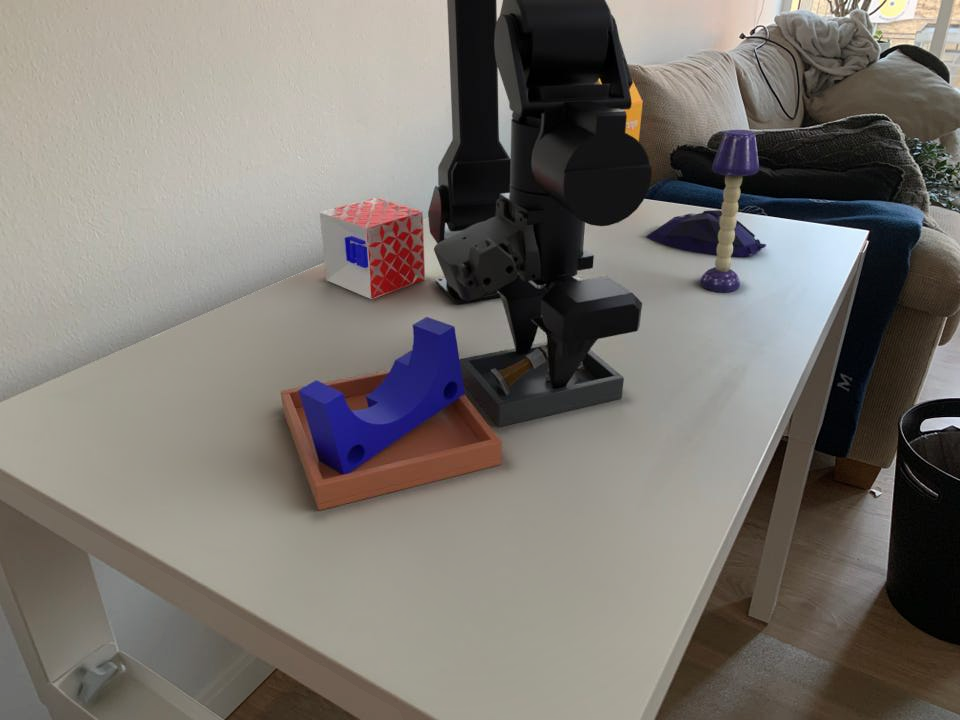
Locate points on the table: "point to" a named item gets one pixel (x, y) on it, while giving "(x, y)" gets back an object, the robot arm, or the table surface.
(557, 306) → the robot arm
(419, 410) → the blue cradle bracket
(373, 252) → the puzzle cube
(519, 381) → the tray
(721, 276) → the toy lamp
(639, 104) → the orange juice
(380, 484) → the tray
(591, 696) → the table surface
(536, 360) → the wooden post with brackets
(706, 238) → the purple faceted mound
